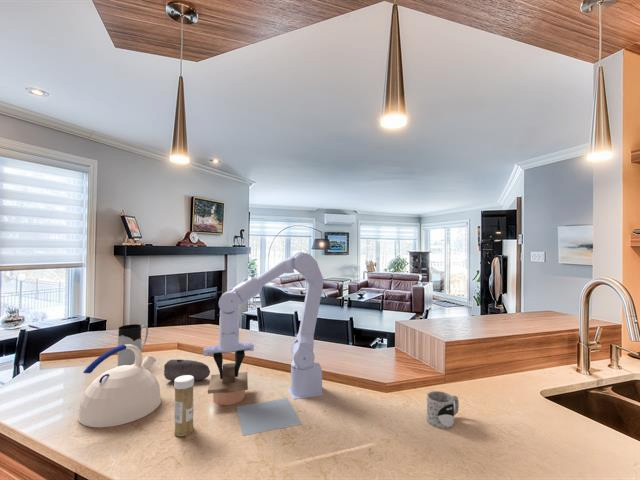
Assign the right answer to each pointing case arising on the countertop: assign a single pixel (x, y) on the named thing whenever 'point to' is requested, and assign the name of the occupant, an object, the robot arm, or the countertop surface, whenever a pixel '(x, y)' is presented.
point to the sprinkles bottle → (183, 405)
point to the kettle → (120, 392)
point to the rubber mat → (267, 416)
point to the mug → (441, 409)
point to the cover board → (228, 386)
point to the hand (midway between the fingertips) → (229, 376)
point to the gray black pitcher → (130, 342)
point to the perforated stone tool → (185, 369)
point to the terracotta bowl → (228, 397)
